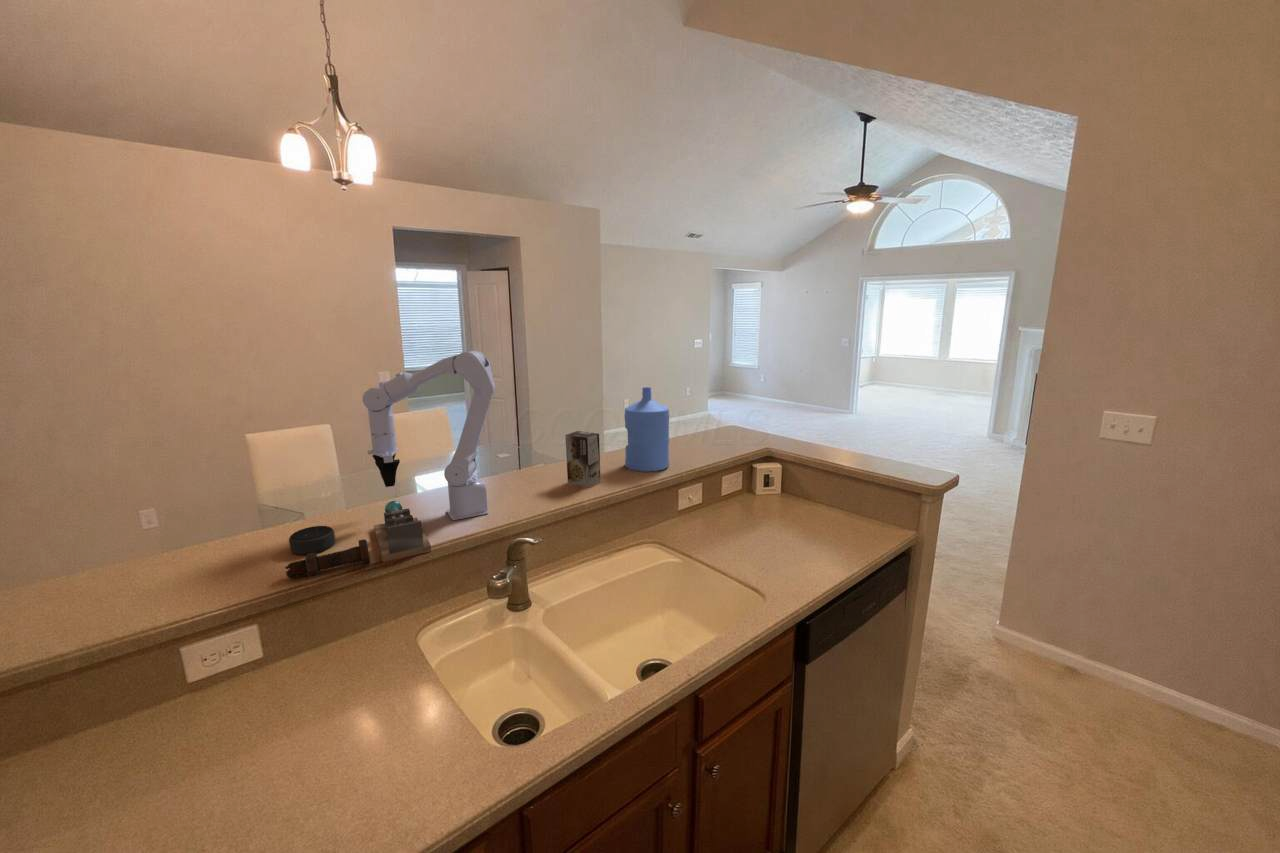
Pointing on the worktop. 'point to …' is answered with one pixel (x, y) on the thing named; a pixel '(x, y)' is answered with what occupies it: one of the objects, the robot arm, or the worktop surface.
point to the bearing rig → (401, 536)
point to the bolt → (329, 561)
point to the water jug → (647, 435)
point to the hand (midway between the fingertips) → (388, 482)
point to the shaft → (393, 508)
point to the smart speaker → (312, 540)
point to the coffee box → (583, 458)
